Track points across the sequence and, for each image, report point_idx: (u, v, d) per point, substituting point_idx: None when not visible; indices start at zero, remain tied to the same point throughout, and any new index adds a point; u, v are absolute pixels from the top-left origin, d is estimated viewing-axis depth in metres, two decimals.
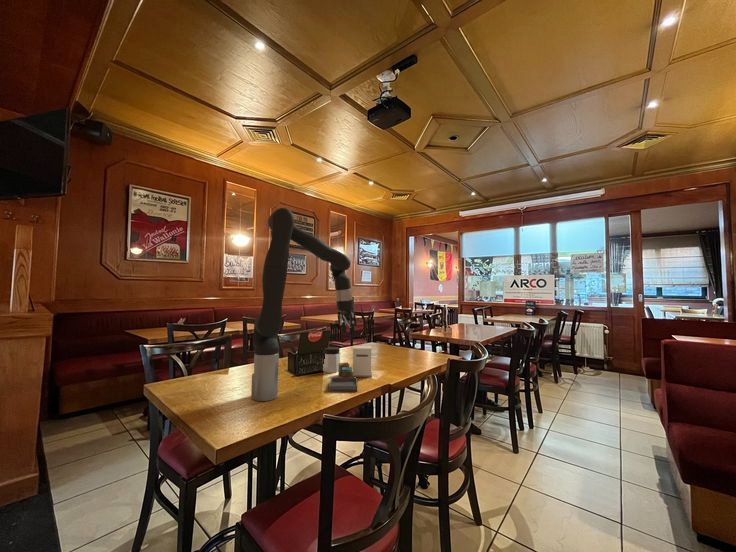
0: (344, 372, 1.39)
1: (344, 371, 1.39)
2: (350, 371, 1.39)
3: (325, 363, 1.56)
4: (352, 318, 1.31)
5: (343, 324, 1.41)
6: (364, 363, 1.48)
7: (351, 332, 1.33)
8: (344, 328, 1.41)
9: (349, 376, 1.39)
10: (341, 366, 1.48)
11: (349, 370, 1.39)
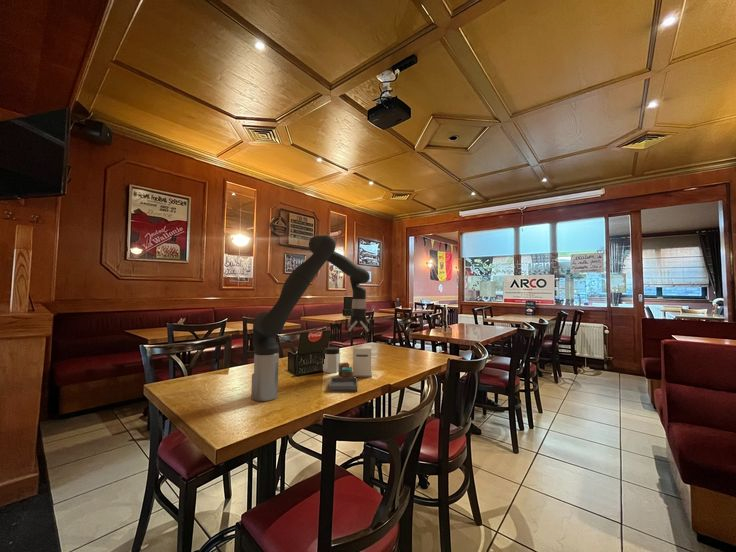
0: (344, 372, 1.39)
1: (344, 371, 1.39)
2: (350, 371, 1.39)
3: (325, 363, 1.56)
4: (371, 323, 1.58)
5: (350, 330, 1.58)
6: (364, 363, 1.48)
7: (367, 335, 1.58)
8: (350, 334, 1.58)
9: (349, 376, 1.39)
10: (341, 366, 1.48)
11: (349, 370, 1.39)
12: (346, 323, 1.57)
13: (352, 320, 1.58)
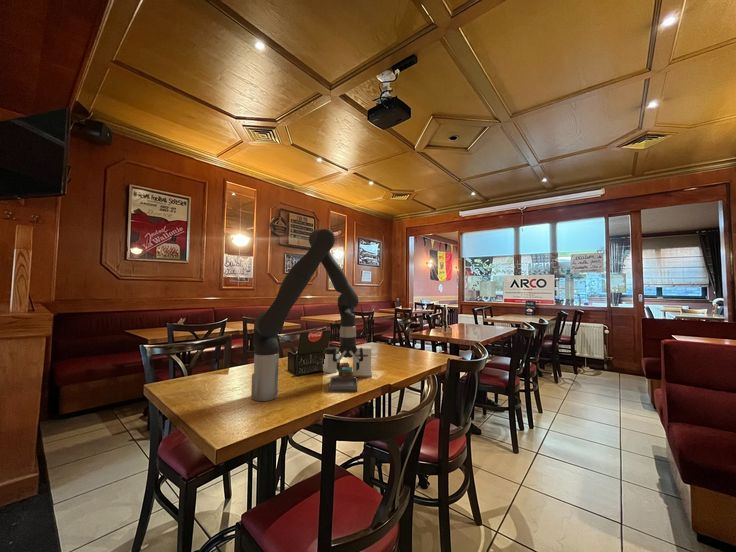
0: (344, 372, 1.39)
1: (344, 371, 1.39)
2: (350, 371, 1.39)
3: (325, 363, 1.56)
4: (362, 353, 1.41)
5: None
6: (364, 363, 1.48)
7: (358, 367, 1.41)
8: (339, 365, 1.42)
9: (349, 376, 1.39)
10: (341, 366, 1.48)
11: (349, 370, 1.39)
12: (334, 353, 1.40)
13: (341, 350, 1.41)
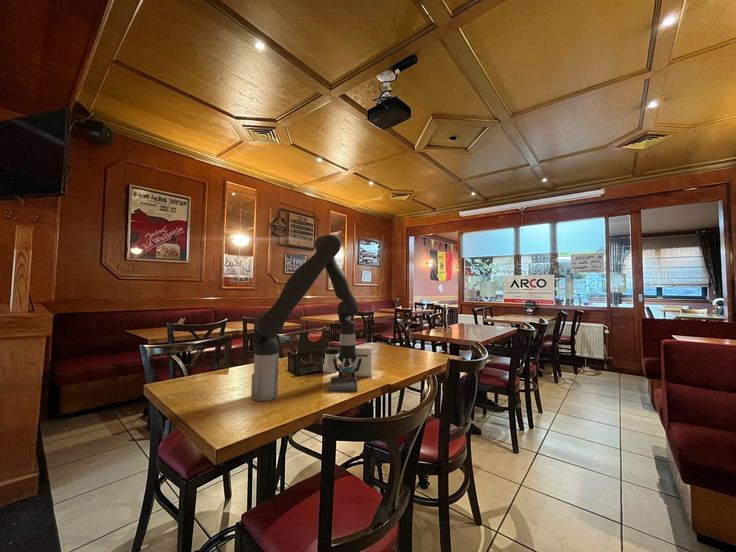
0: (344, 372, 1.39)
1: (344, 371, 1.39)
2: (350, 371, 1.39)
3: (325, 363, 1.56)
4: (360, 363, 1.41)
5: None
6: (364, 363, 1.48)
7: (353, 376, 1.40)
8: None
9: (349, 376, 1.39)
10: None
11: (349, 370, 1.39)
12: (335, 363, 1.40)
13: (340, 358, 1.40)
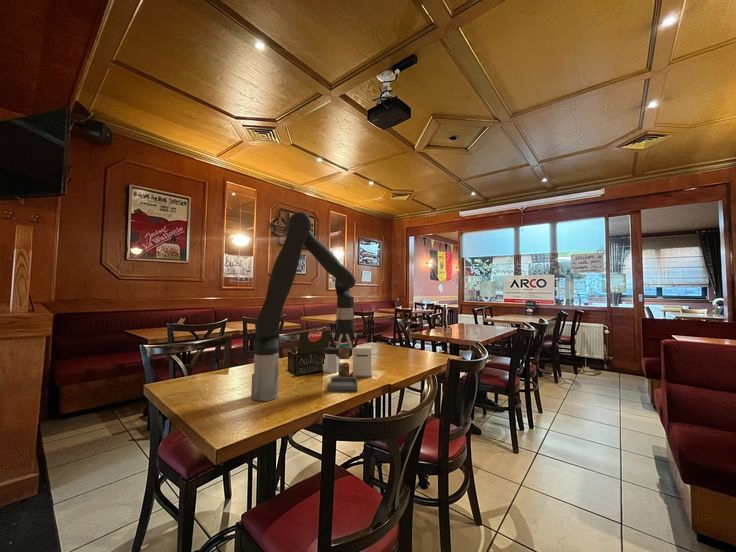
0: (341, 348, 1.31)
1: (341, 347, 1.31)
2: (347, 347, 1.31)
3: (325, 363, 1.56)
4: (358, 339, 1.33)
5: None
6: (364, 363, 1.48)
7: (351, 353, 1.32)
8: None
9: (346, 352, 1.30)
10: (341, 366, 1.48)
11: (346, 346, 1.31)
12: (331, 339, 1.32)
13: (337, 333, 1.32)
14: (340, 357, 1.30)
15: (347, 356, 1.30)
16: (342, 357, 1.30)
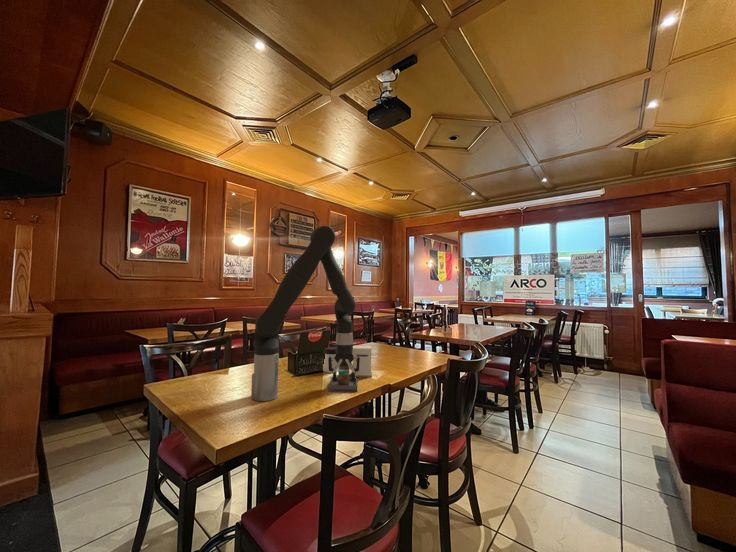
0: (341, 375, 1.30)
1: (341, 374, 1.30)
2: (347, 374, 1.30)
3: (325, 363, 1.56)
4: None
5: (335, 371, 1.32)
6: (364, 363, 1.48)
7: (353, 377, 1.32)
8: None
9: (346, 379, 1.30)
10: None
11: (346, 373, 1.30)
12: (329, 363, 1.31)
13: (336, 358, 1.31)
14: (340, 384, 1.30)
15: (347, 383, 1.30)
16: (342, 384, 1.30)
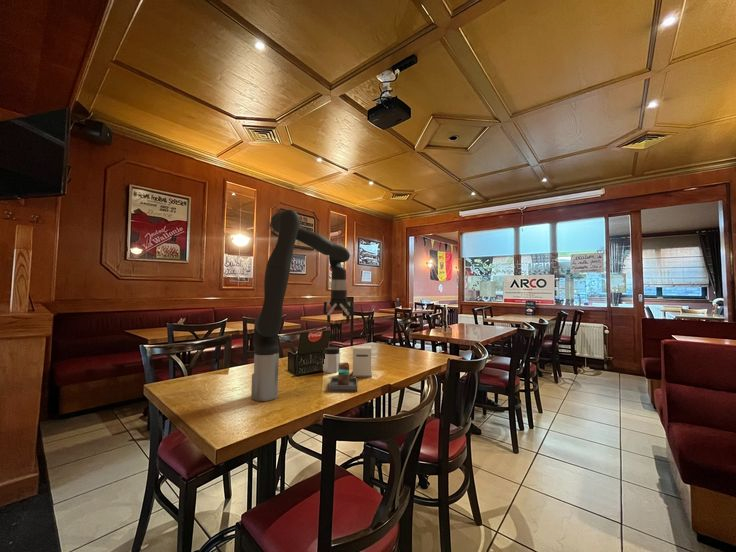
0: (341, 375, 1.30)
1: (341, 374, 1.30)
2: (347, 374, 1.30)
3: (325, 363, 1.56)
4: (352, 306, 1.43)
5: (329, 314, 1.44)
6: (364, 363, 1.48)
7: (348, 320, 1.43)
8: None
9: (346, 379, 1.30)
10: (341, 366, 1.48)
11: (346, 373, 1.30)
12: (324, 306, 1.43)
13: (331, 303, 1.43)
14: (340, 384, 1.30)
15: (347, 383, 1.30)
16: (342, 384, 1.30)
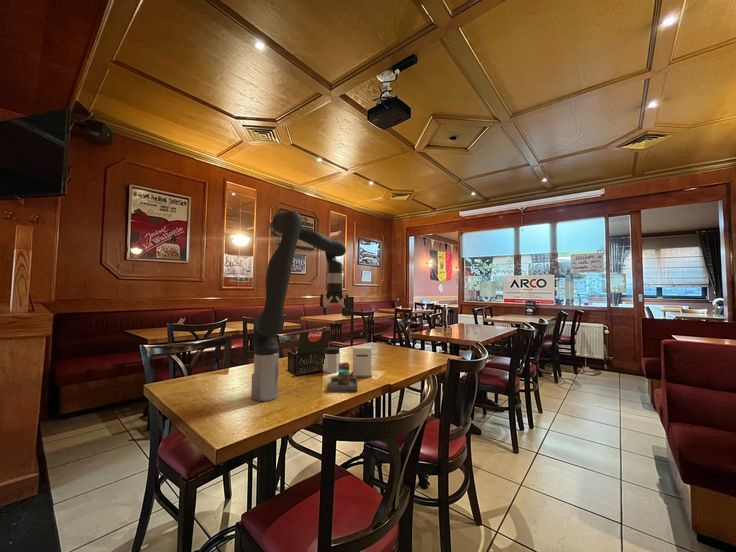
0: (341, 375, 1.30)
1: (341, 374, 1.30)
2: (347, 374, 1.30)
3: (325, 363, 1.56)
4: None
5: None
6: (364, 363, 1.48)
7: (344, 312, 1.48)
8: (326, 310, 1.49)
9: (346, 379, 1.30)
10: (341, 366, 1.48)
11: (346, 373, 1.30)
12: (321, 299, 1.47)
13: (327, 296, 1.48)
14: (340, 384, 1.30)
15: (347, 383, 1.30)
16: (342, 384, 1.30)
